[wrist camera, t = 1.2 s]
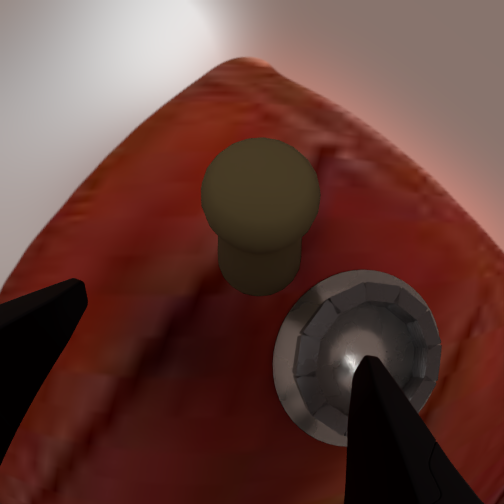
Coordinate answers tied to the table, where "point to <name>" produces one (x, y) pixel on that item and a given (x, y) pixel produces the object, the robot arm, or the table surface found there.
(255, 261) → the cork
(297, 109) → the table surface
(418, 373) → the iron collar
